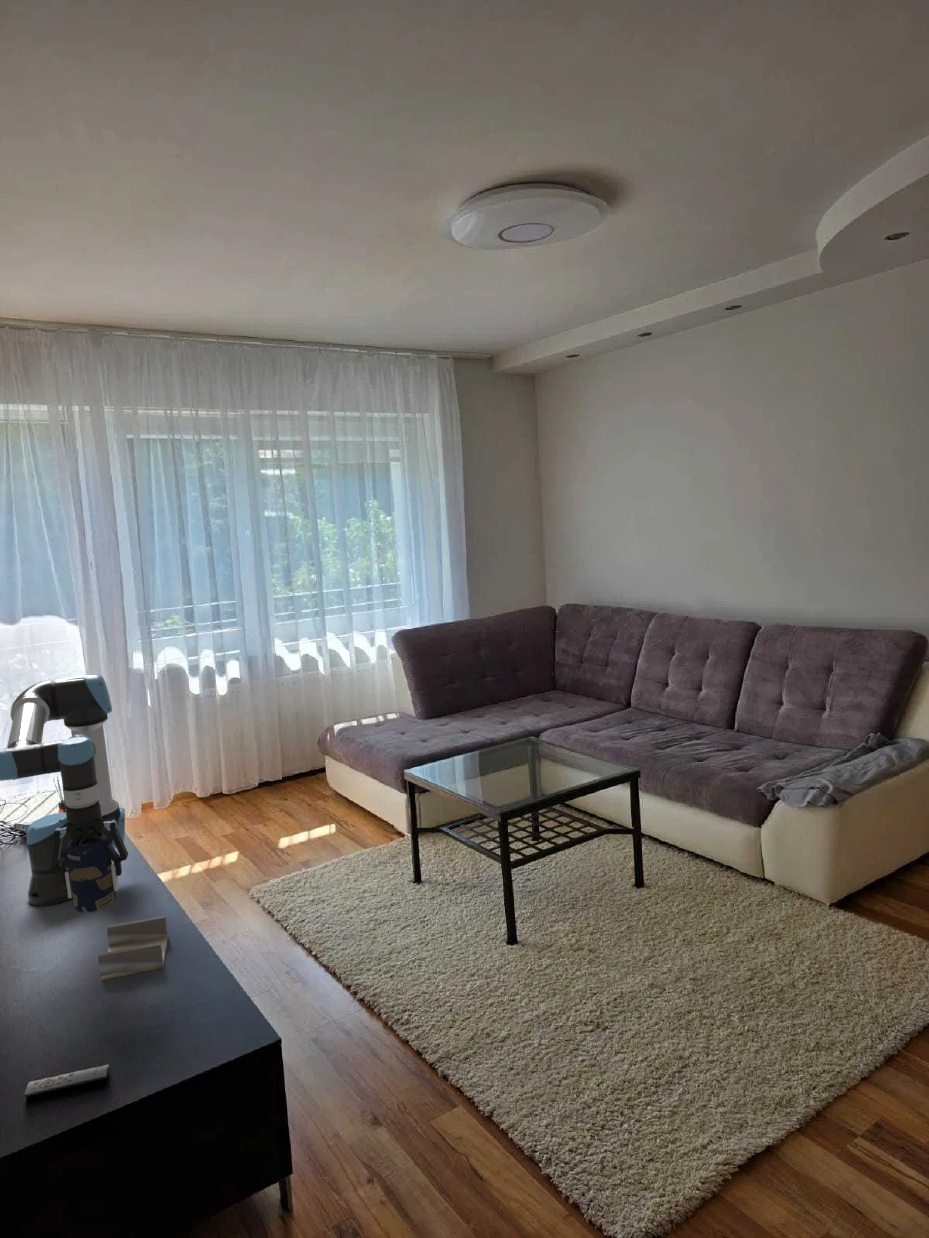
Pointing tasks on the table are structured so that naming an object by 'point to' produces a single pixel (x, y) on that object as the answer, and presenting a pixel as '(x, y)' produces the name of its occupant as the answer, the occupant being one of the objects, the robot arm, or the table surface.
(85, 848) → the canister
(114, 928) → the keeper cradle
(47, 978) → the table surface
